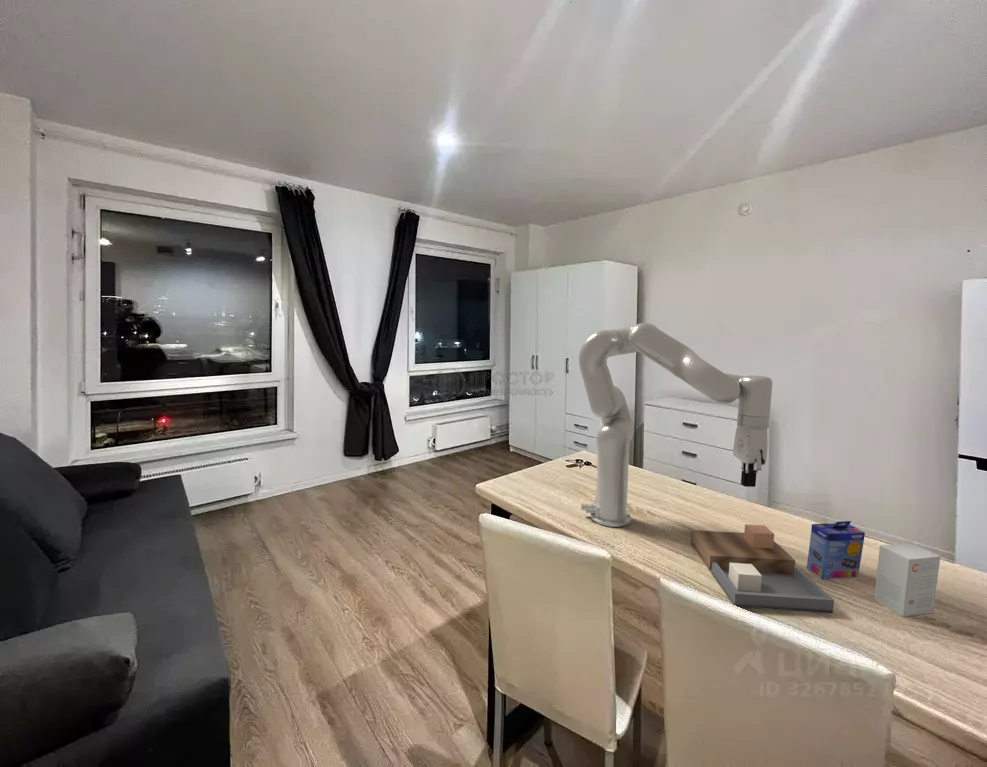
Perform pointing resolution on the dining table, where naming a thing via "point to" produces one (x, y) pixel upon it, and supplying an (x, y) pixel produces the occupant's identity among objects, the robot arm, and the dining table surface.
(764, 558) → the bench plate
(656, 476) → the dining table surface
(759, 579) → the cream block
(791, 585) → the tray
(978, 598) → the dining table surface
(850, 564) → the ink cartridge box
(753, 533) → the terracotta block
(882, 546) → the small box
